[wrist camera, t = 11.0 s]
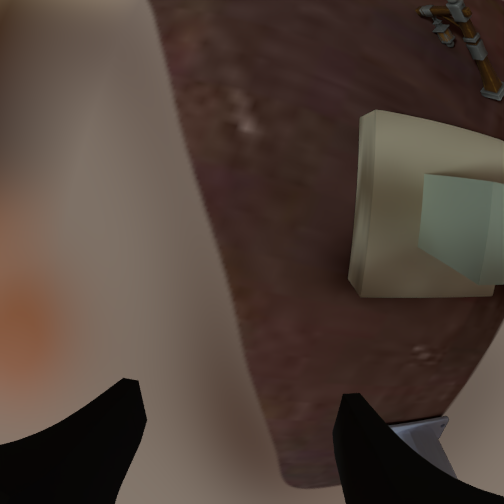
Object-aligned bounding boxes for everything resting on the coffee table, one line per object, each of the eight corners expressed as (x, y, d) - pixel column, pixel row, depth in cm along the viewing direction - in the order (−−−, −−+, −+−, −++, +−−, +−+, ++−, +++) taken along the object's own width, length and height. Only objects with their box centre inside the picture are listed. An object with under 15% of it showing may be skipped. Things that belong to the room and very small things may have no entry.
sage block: (471, 249, 15) (535, 283, 10) (417, 247, 16) (478, 285, 10) (478, 182, 14) (548, 195, 9) (424, 173, 15) (493, 181, 9)
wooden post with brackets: (415, -7, 13) (464, -12, 9) (466, 77, 17) (510, 87, 14) (403, 4, 14) (453, -1, 10) (456, 90, 18) (502, 101, 14)
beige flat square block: (470, 281, 19) (492, 296, 16) (347, 278, 19) (360, 297, 16) (486, 144, 16) (512, 144, 14) (359, 117, 17) (375, 109, 14)
